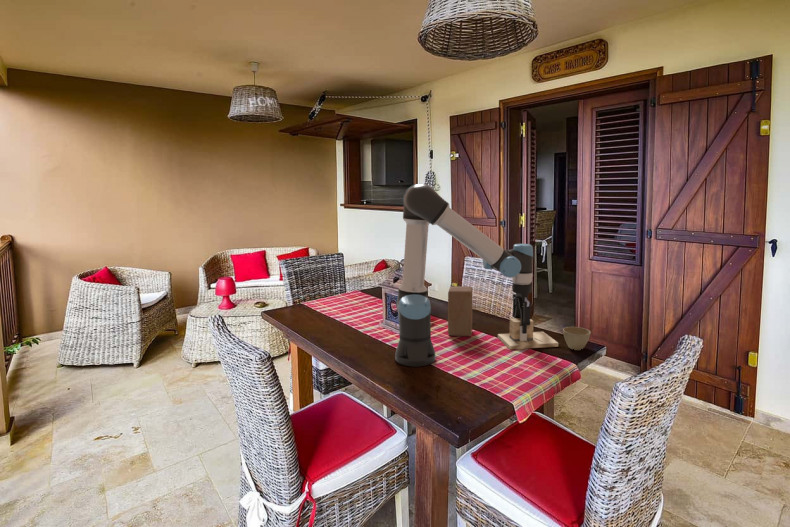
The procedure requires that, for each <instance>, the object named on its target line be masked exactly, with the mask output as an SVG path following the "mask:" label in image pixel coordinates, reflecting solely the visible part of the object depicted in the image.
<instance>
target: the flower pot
mask: <svg viewBox="0 0 790 527" xmlns="http://www.w3.org/2000/svg"><path fill="white" fill-rule="evenodd" d="M562 332H563V338H564V341H565V342H566V345H567V347H568V348H569V349H571V350H573V349H574V350H573V351H582V350H583V349H584V348H585V347H586V345H587V344H588V342H589V340H590V336H591V333H592V332H591V330H589V329H587V328H584V327H580V326H579V327H578V326H566V327H564V328H563V329H562ZM581 349H582V350H581Z"/></svg>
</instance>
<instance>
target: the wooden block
mask: <svg viewBox="0 0 790 527" xmlns="http://www.w3.org/2000/svg"><path fill="white" fill-rule="evenodd" d="M447 334H448V336H453V337H454V336H455V337H471V336H472V335H473V287H472V286H462V285H460V286H459V285H458V286H457V285H456V286H455V285H454V286H453V285H452V286H449V289H448V291H447Z"/></svg>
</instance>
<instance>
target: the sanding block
mask: <svg viewBox="0 0 790 527" xmlns="http://www.w3.org/2000/svg"><path fill="white" fill-rule="evenodd" d="M519 324H521V318H514V317H512V318H509V332H508V334H509V337H510V338H511V339H512V340H513V341H520V325H519ZM533 332H534V320H533V319H531V318H530V325H528V326H527V341H528V340H533Z"/></svg>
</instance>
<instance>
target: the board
mask: <svg viewBox="0 0 790 527" xmlns="http://www.w3.org/2000/svg"><path fill="white" fill-rule="evenodd" d="M497 338H498V340H499V341H500V342H501V343H502V344H503V345H504V346H506V347H507V348H508V350H522V349H537V348H538V349H539V348H555V347H556V348H557V347H559V342H558V341H557V340H555V339H554V338H553V337H551V336H550V335H549V334H547V333H545V332H544V331H533V340H528V341H513V340H512V339H511V338H510V337H509V333H498V334H497Z"/></svg>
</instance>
